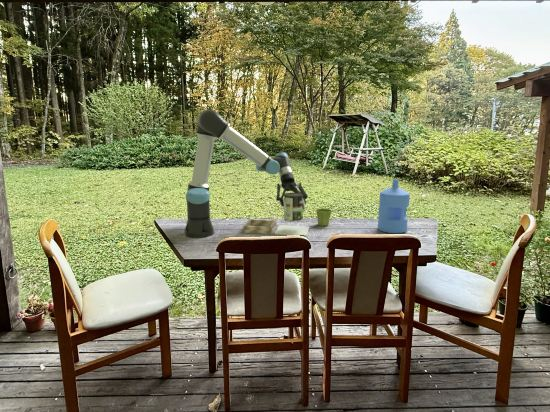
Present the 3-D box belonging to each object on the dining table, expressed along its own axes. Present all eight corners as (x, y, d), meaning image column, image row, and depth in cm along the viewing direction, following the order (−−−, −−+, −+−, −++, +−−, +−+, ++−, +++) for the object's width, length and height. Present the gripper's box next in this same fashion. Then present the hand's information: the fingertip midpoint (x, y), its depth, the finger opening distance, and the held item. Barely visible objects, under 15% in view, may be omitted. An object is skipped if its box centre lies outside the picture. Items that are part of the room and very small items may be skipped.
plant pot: (319, 221, 229) (319, 207, 227) (333, 224, 224) (334, 209, 223) (312, 225, 221) (312, 210, 219) (327, 227, 217) (328, 212, 215)
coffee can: (304, 217, 213) (304, 192, 210) (301, 222, 203) (301, 196, 200) (285, 216, 215) (285, 192, 212) (282, 221, 205) (282, 195, 202)
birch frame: (243, 232, 207) (243, 226, 206) (249, 224, 222) (249, 219, 221) (271, 233, 204) (271, 227, 204) (276, 226, 219) (276, 220, 218)
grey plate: (274, 234, 203) (274, 233, 203) (279, 226, 220) (279, 225, 219) (306, 236, 201) (306, 235, 200) (309, 227, 217) (309, 226, 217)
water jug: (371, 228, 216) (374, 178, 210) (392, 224, 223) (396, 177, 217) (391, 235, 203) (395, 182, 197) (413, 231, 210) (417, 180, 204)
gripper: (304, 179, 222) (313, 212, 211) (265, 181, 216) (273, 215, 205) (307, 171, 216) (317, 205, 205) (268, 173, 210) (276, 207, 199)
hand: (295, 210), depth 205 cm, fingers closed on coffee can, 10 cm apart
